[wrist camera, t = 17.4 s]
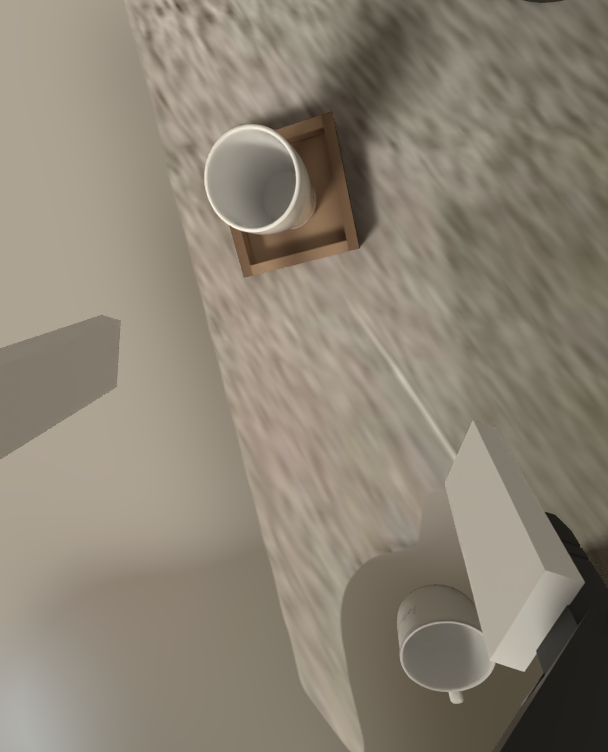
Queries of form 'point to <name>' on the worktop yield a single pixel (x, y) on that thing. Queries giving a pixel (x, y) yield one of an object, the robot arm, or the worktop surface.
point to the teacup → (442, 641)
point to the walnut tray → (332, 213)
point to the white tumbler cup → (258, 181)
